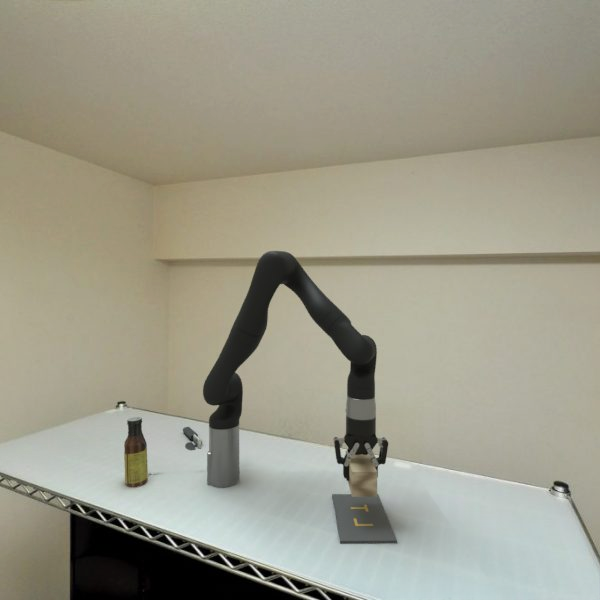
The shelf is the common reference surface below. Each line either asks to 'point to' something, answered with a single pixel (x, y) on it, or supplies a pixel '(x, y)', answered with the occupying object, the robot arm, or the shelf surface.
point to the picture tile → (362, 520)
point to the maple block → (362, 476)
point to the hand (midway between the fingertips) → (360, 479)
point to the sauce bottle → (135, 454)
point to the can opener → (192, 439)
